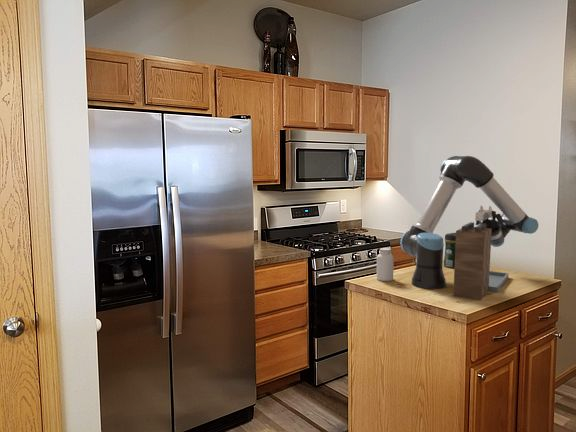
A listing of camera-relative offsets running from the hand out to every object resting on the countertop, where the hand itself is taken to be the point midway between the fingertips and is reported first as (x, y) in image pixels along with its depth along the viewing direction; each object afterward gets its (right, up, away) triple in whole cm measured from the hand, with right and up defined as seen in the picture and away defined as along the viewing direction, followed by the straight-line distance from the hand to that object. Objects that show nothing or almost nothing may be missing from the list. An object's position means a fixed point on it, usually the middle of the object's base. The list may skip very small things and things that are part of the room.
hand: (485, 208), depth 206 cm
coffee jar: (+1, -31, +43) cm, 53 cm away
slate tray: (+4, -35, +11) cm, 37 cm away
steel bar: (-1, -4, -1) cm, 5 cm away
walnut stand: (-10, -37, -8) cm, 39 cm away
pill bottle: (-42, -34, +16) cm, 56 cm away
